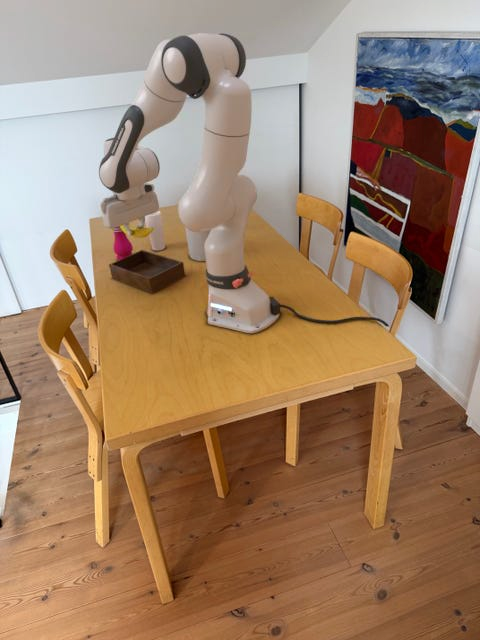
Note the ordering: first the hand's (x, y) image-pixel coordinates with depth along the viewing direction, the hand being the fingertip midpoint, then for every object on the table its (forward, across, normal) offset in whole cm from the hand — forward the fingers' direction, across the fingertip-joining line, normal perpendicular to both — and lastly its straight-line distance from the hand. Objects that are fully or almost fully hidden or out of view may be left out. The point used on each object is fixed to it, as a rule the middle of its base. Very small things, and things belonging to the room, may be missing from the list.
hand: (136, 232), depth 150 cm
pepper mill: (+18, +9, +24) cm, 32 cm away
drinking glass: (+18, +23, +20) cm, 36 cm away
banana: (+2, 0, 0) cm, 2 cm away
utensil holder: (+19, +29, -2) cm, 35 cm away
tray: (+18, +3, +3) cm, 19 cm away
